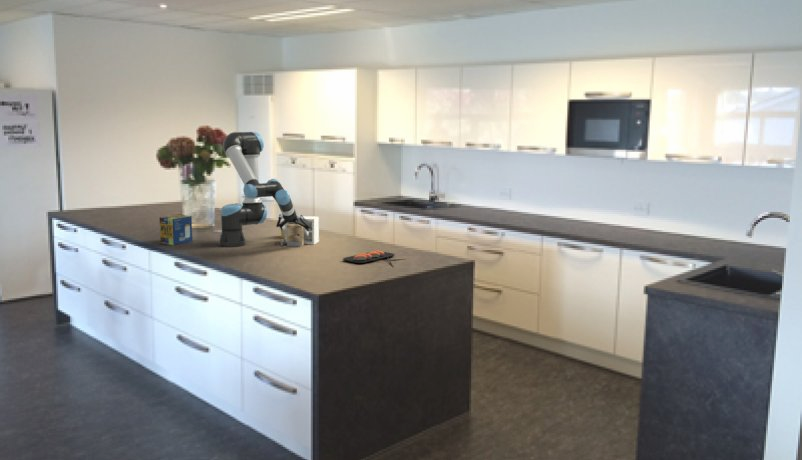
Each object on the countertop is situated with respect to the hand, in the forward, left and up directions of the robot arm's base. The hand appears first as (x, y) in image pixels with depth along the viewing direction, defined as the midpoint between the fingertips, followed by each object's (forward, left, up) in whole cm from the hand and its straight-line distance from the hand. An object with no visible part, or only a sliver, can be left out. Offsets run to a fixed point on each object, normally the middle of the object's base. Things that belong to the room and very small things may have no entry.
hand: (296, 233), depth 394 cm
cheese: (+1, +24, -7) cm, 25 cm away
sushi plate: (+32, -57, -7) cm, 66 cm away
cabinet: (+2, +2, -7) cm, 8 cm away
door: (-1, -2, -7) cm, 7 cm away
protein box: (-66, +27, -7) cm, 71 cm away
